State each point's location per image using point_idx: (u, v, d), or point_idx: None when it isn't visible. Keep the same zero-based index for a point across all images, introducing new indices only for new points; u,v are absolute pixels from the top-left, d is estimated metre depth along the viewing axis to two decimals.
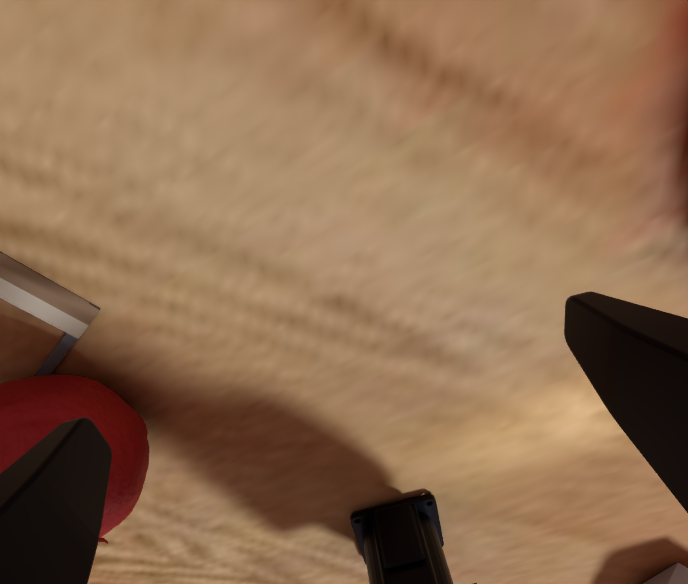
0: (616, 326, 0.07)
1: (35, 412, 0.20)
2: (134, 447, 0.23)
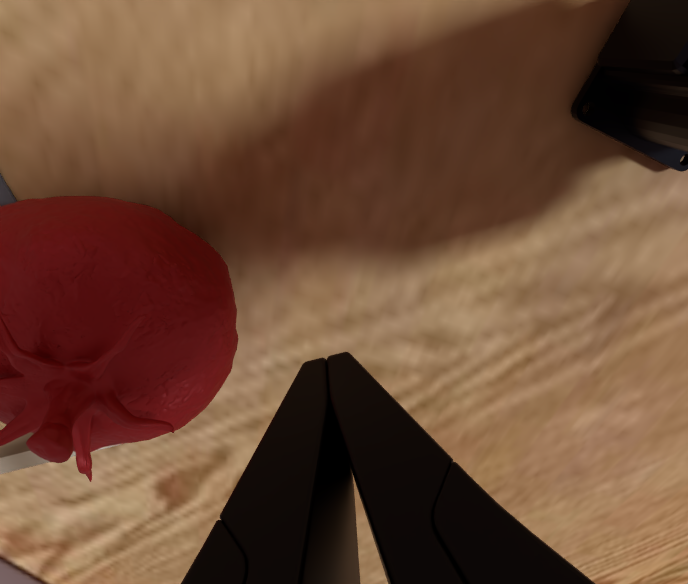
0: (332, 396, 0.07)
1: None
2: (112, 210, 0.14)
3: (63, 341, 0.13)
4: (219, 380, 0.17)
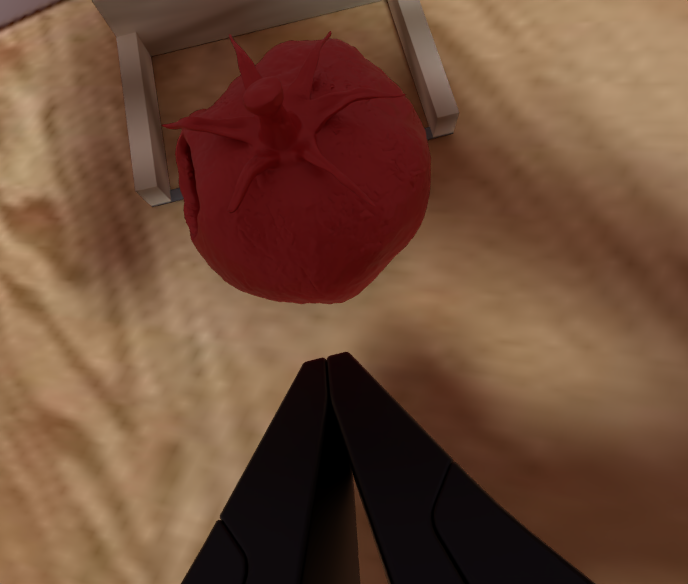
0: (332, 396, 0.07)
1: None
2: (425, 208, 0.16)
3: (340, 138, 0.14)
4: (246, 273, 0.15)
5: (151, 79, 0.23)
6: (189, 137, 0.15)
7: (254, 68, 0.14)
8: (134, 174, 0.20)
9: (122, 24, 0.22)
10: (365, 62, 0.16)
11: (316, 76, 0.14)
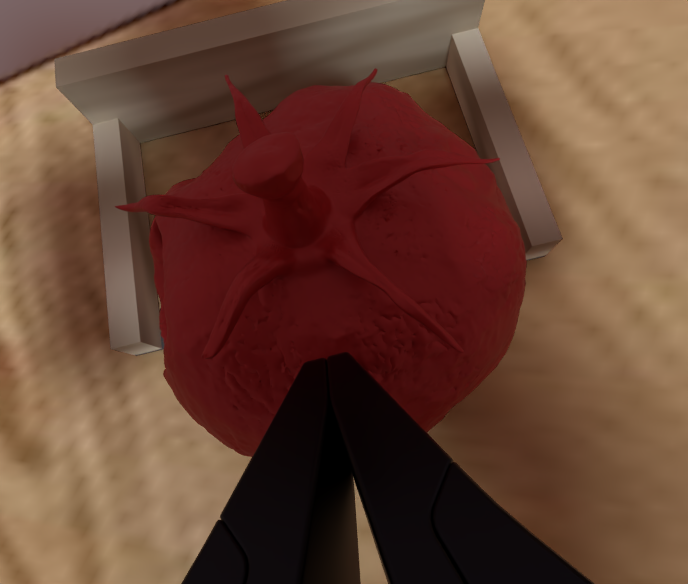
0: (332, 396, 0.07)
1: None
2: (516, 323, 0.11)
3: (393, 227, 0.09)
4: (239, 436, 0.09)
5: (139, 176, 0.18)
6: (161, 222, 0.10)
7: (259, 121, 0.09)
8: (110, 323, 0.15)
9: (99, 110, 0.16)
10: (423, 113, 0.11)
11: (354, 133, 0.09)
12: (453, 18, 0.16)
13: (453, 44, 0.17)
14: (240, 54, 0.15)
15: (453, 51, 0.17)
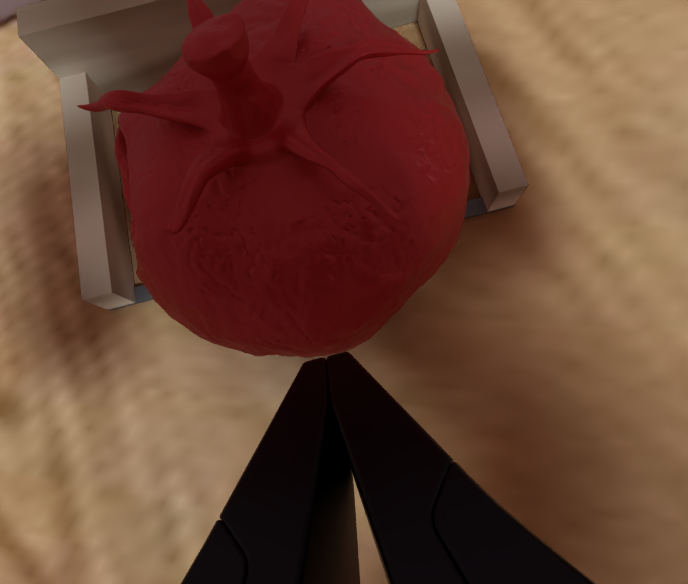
0: (332, 396, 0.07)
1: None
2: (462, 219, 0.12)
3: (342, 119, 0.09)
4: (208, 321, 0.10)
5: (109, 133, 0.17)
6: (124, 125, 0.11)
7: None
8: (81, 275, 0.15)
9: (65, 63, 0.16)
10: (374, 18, 0.11)
11: (305, 31, 0.10)
12: None
13: None
14: (207, 3, 0.15)
15: (423, 3, 0.17)
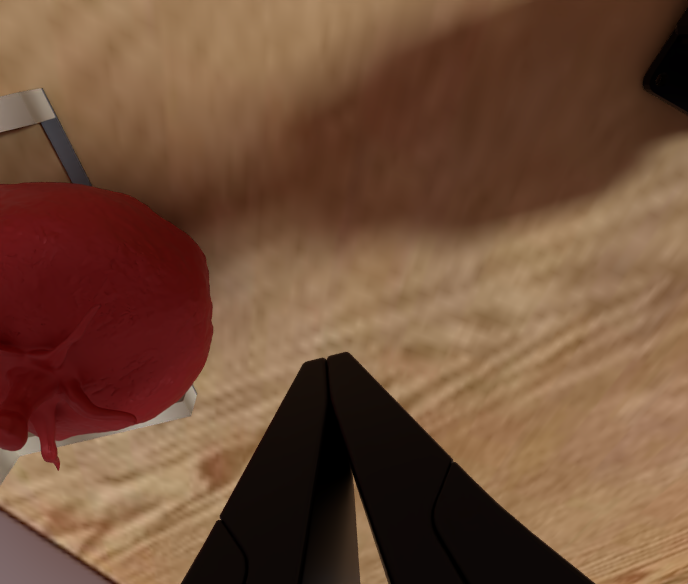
0: (332, 396, 0.07)
1: None
2: (79, 197, 0.14)
3: (23, 328, 0.13)
4: (191, 372, 0.16)
5: None
6: (62, 438, 0.16)
7: None
8: (173, 418, 0.22)
9: (6, 456, 0.21)
10: None
11: None
12: None
13: None
14: None
15: None
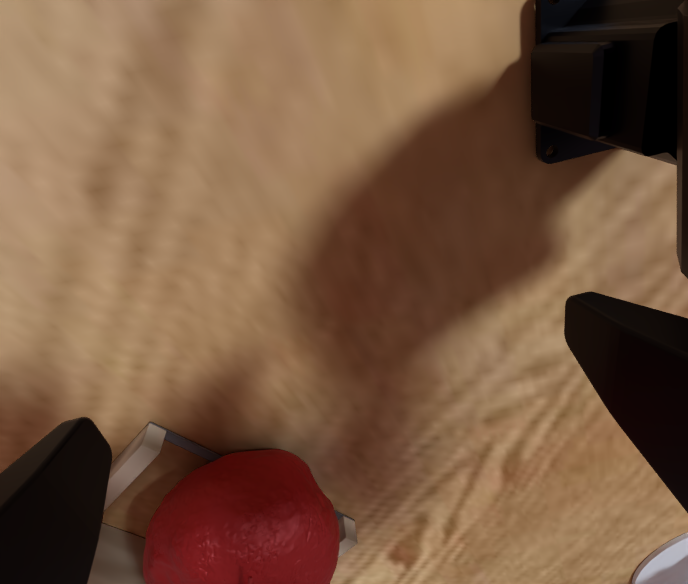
0: (616, 326, 0.07)
1: (144, 557, 0.22)
2: (206, 496, 0.21)
3: None
4: (331, 552, 0.22)
5: None
6: None
7: None
8: (347, 549, 0.29)
9: None
10: None
11: None
12: None
13: None
14: None
15: None
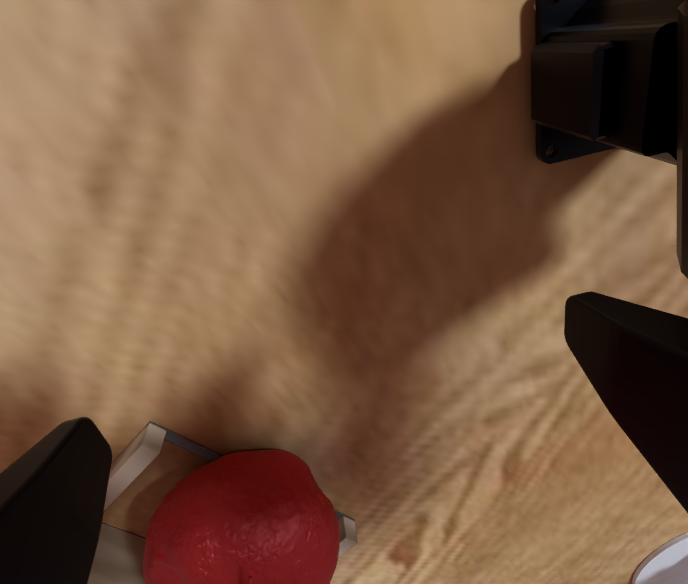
0: (616, 326, 0.07)
1: (144, 557, 0.22)
2: (206, 496, 0.21)
3: None
4: (331, 552, 0.22)
5: None
6: None
7: None
8: (347, 549, 0.29)
9: None
10: None
11: None
12: None
13: None
14: None
15: None
